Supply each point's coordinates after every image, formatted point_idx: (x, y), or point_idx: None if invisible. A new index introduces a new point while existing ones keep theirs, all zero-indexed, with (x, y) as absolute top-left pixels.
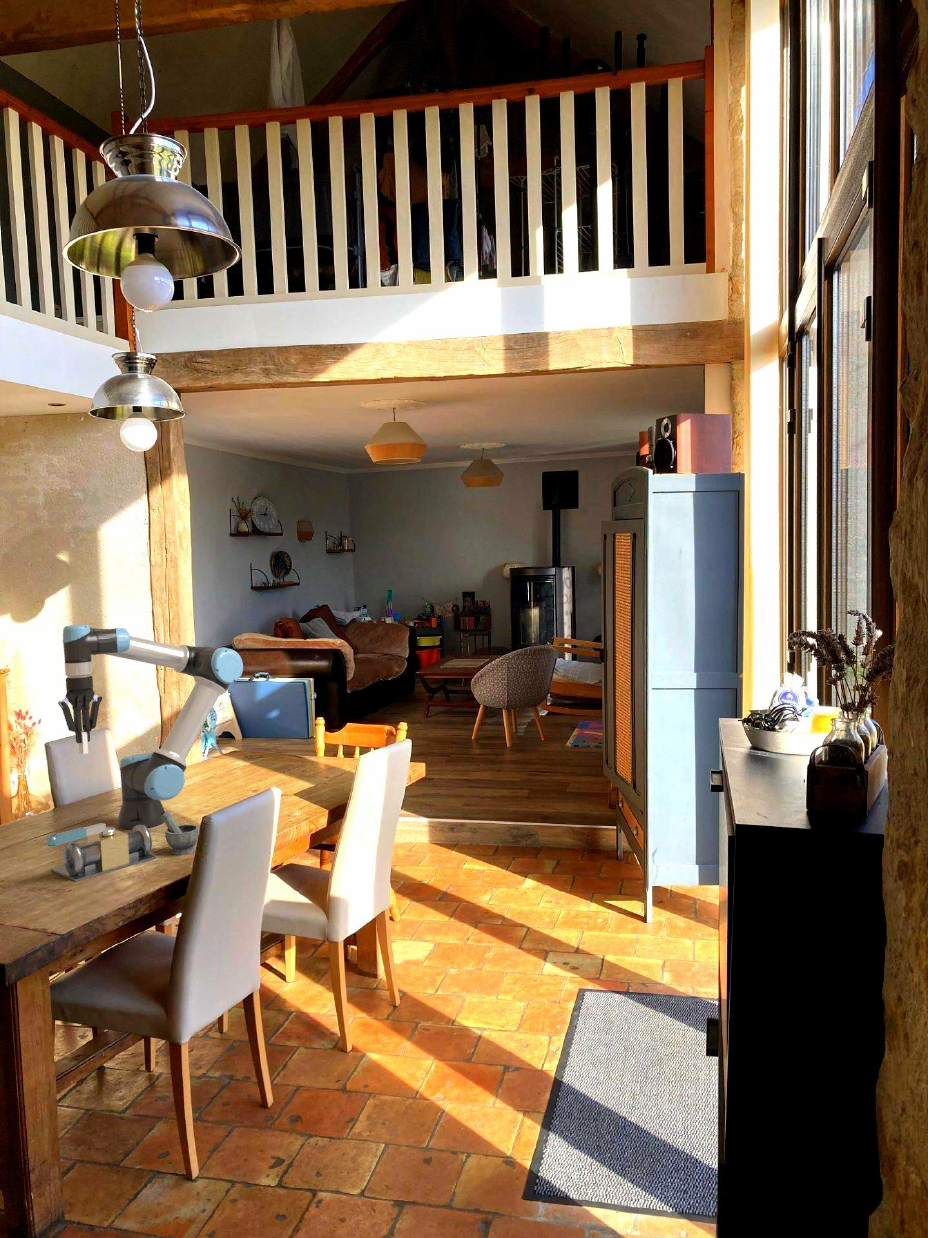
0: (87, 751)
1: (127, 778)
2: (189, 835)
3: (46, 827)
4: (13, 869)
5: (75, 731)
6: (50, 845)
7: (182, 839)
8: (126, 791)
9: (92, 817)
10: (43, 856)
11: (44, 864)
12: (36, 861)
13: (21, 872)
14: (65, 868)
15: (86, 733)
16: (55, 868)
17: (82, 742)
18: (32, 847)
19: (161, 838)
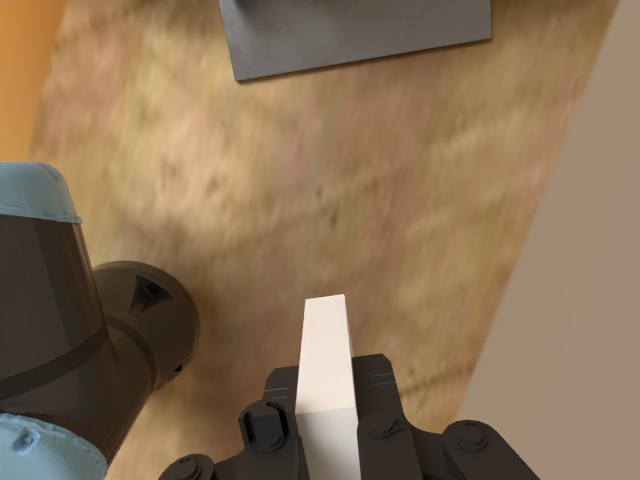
0: (310, 306)
1: (105, 380)
2: None
3: None
4: (555, 143)
5: (437, 438)
6: None
7: None
8: (133, 366)
9: None
10: (450, 207)
11: (477, 124)
12: (481, 173)
13: (552, 95)
14: (460, 2)
15: (303, 401)
16: (481, 28)
17: (349, 349)
18: (440, 313)
19: (125, 123)
